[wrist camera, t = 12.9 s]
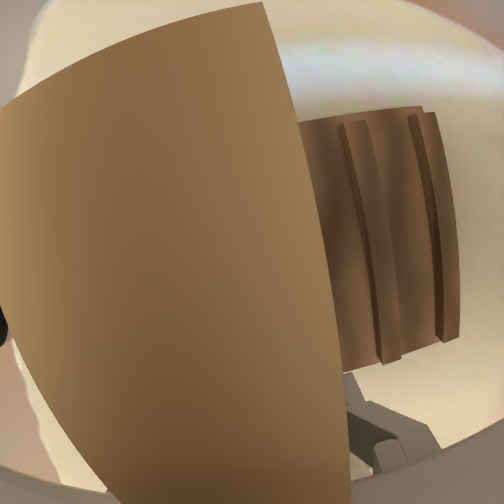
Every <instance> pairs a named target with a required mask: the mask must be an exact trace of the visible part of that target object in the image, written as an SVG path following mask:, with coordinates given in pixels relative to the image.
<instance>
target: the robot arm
mask: <svg viewBox="0 0 504 504" xmlns="http://www.w3.org/2000/svg"><path fill="white" fill-rule="evenodd" d="M343 380H344V390H345V400H346V412H347V424H348V437H349V451H350V452H351V453H353V454H354V455H355V456H357V457H358V458H359V459H361V460H362V461H363V462H365V463H366V464H367V465H369V466H370V467H372V468H373V475H370V476H367V477H363V478H360V479H356V480H352V481H351V504H504V418H502V419H501V420H499V421H497V422H495V423H494V424H492V425H490V426H488V427H487V428H485V429H483V430H481V431H479V432H477V433H475V434H473V435H471V436H469V437H467V438H465V439H463V440H461V441H459V442H457V443H455V444H453V445H451V446H449V447H446V448H444V449H441V447H440V446H439V444H438V442H437V441H436V439H435V437H434V435H433V434H432V432H431V431H430V429H429V427H428V426H427V425H426V424H424V423H421V422H419V421H416V420H414V419H411V418H409V417H407V416H404V415H402V414H399V413H397V412H395V411H392V410H390V409H388V408H386V407H383V406H381V405H379V404H377V403H374V402H372V401H366V402H365V400H364V397H363V395H362V393H361V391H360V389H359V386H358V384H357V382H356V380H355V378H354V375H353V373H351V372H350V373H347V374H343ZM0 504H121V503H120V502H119V501H118V499H117V498H116V497H115V496H114V495H113V494H112V493H111V492H110V491H109V489H107V491H106V493H103V492H97V491H91V490H86V489H81V488H76V487H72V486H68V485H63V484H59V483H55V482H51V481H48V480H44V479H41V478H37V477H34V476H31V475H27V474H24V473H21V472H18V471H15V470H12V469H10V468H7V467H4V466H1V465H0Z"/></svg>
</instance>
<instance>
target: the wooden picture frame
mask: <svg viewBox="0 0 504 504" xmlns="http://www.w3.org/2000/svg"><path fill="white" fill-rule="evenodd" d="M0 306H1V308H2V311H3V314H4V316H5V319H6V321H7V324H8V326H9V329H10V331H11V334H12V336H13V338H14V340H15V343H16V345H17V347H18V349H19V351H20V354H21V356H22V358H23V360H24V362H25V364H26V366H27V368H28V370H29V372H30V374H31V376H32V378H33V380H34V382H35V383H36V385H37V387H38V389H39V391H40V392H41V394H42V396H43V398H44V399H45V401H46V403H47V405H48V406H49V408H50V410H51V411H52V413H53V414H54V416H55V418H56V419H57V421H58V422H59V424H60V426H61V427H62V429H63V430H64V432H65V433H66V435H67V436H68V438H69V439H70V440H71V442H72V443H73V445H74V446H75V447H76V449H77V450H78V452H79V453H80V454H81V456H82V457H83V458H84V460H85V461H86V462H87V464H88V465H89V466H90V468H91V469H92V470H93V471H94V473H95V474H96V475H97V476H98V477H99V479H100V480H101V481H102V482H103V484H104V485H105V486H106V487H107V488H108V489H109V491H110V492H111V493H112V494H113V495H114V496H115V497H116V498H117V499H118V501H119V502H120V503H121V504H351V473H350V453H349V437H348V424H347V412H346V400H345V390H344V380H343V371H342V362H341V354H340V346H339V338H338V330H337V323H336V316H335V309H334V302H333V296H332V289H331V283H330V277H329V271H328V265H327V259H326V253H325V248H324V242H323V237H322V231H321V226H320V221H319V216H318V211H317V206H316V201H315V196H314V192H313V187H312V182H311V178H310V173H309V169H308V164H307V160H306V156H305V151H304V147H303V143H302V139H301V135H300V131H299V127H298V123H297V119H296V115H295V111H294V107H293V103H292V99H291V96H290V92H289V88H288V85H287V81H286V78H285V74H284V71H283V67H282V64H281V60H280V57H279V54H278V50H277V47H276V44H275V40H274V37H273V34H272V31H271V28H270V25H269V21H268V18H267V15H266V12H265V9H264V6H263V3H262V2H258V3H252V4H246V5H241V6H236V7H231V8H226V9H222V10H217V11H213V12H209V13H205V14H201V15H197V16H194V17H190V18H187V19H183V20H180V21H177V22H173V23H170V24H167V25H164V26H161V27H158V28H155V29H152V30H149V31H147V32H144V33H141V34H139V35H136V36H133V37H131V38H128V39H126V40H123V41H121V42H119V43H116V44H114V45H112V46H109V47H107V48H105V49H103V50H100V51H98V52H96V53H94V54H92V55H90V56H88V57H86V58H84V59H82V60H80V61H78V62H76V63H74V64H72V65H70V66H68V67H66V68H64V69H62V70H61V71H59V72H57V73H55V74H54V75H52V76H50V77H48V78H47V79H45V80H43V81H42V82H40V83H38V84H37V85H35V86H33V87H32V88H30V89H29V90H27V91H26V92H24V93H22V94H21V95H19V96H18V97H16V98H15V99H14V100H12V101H11V102H9V103H8V104H7V105H5V106H4V107H2V108H1V109H0Z"/></svg>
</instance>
